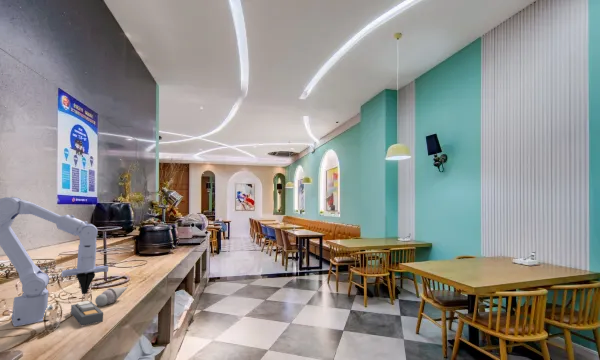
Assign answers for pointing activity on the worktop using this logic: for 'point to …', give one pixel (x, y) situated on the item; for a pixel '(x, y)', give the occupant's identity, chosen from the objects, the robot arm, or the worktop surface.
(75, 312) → the grey compartment tray
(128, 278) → the worktop surface
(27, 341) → the worktop surface
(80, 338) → the worktop surface
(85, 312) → the amber key
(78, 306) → the cream key
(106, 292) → the ice cream cone
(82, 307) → the grey key
